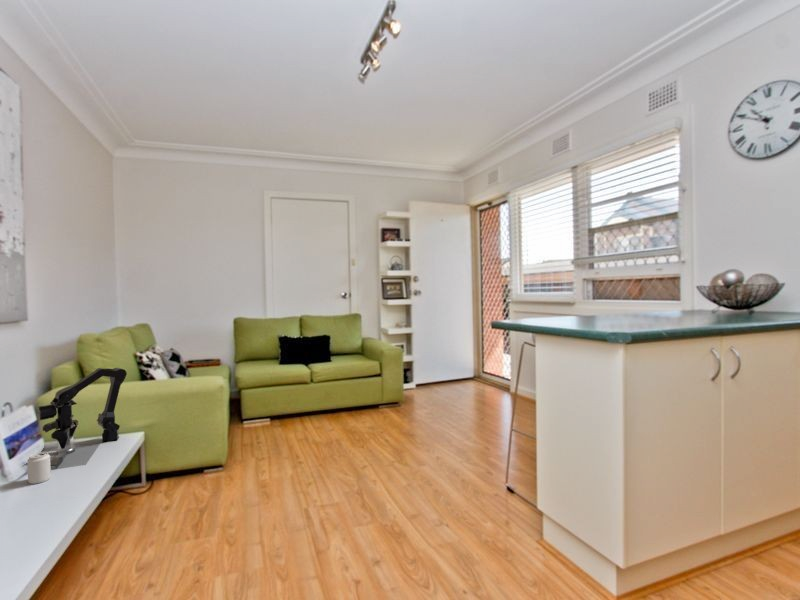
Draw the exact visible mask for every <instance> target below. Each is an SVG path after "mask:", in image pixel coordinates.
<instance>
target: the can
mask: <svg viewBox="0 0 800 600" xmlns="http://www.w3.org/2000/svg"><path fill="white" fill-rule="evenodd" d="M50 458H51V455H50V454H49V452H48V451H39V452H36V453H32V454H30V455H29V457H28V459H27V461H26V462H27V480H28V484H31V485H34V484H35V485H37V484H42V483H44V482H46V481H48V480H50V479H51V477H52V472H51V471H52V470H51V466H50Z"/></svg>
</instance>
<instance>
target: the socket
mask: <svg viewBox="0 0 800 600" xmlns="http://www.w3.org/2000/svg"><path fill="white" fill-rule="evenodd" d="M74 441H75V440H74V435H73V436H70V437H69V438H68V440H67V443H66V446H65V448H64V449H61V446H60V444H59V442H58V441H57V449H58V451H62V450H70V449H71V448H72V447H73V446H75V443H74Z"/></svg>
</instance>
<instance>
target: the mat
mask: <svg viewBox="0 0 800 600" xmlns="http://www.w3.org/2000/svg"><path fill="white" fill-rule="evenodd" d="M101 444H102V443H101V442H98V443H92V444H91V443H90V444H84V445H83V444H82V445H74V446H75V451H74V452H73V453H70V454H68V455H67V456H66V457H65V458H64V460H63V462H62V463H61V464H60V465H59V466H58V468H57V469H54V470H59V469H60V470H61V469H68V468H73V467H75V468H76V467H80V466H86V465H87V464H88V462H89V461H90V460H91V458H92V457H93V455H94V453H96V451H97V449H98V448H99V446H100V445H101ZM57 455H58V454H57V450H56V451H55V452H54V453H53V454H52V455H51V456H50V461H51V460H52V458H55V457H56V456H57Z"/></svg>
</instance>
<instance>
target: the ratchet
mask: <svg viewBox="0 0 800 600" xmlns="http://www.w3.org/2000/svg"><path fill="white" fill-rule="evenodd" d="M75 446H76V445H74V446H73V447H72V448H71V449H70V450H62V451H58V448H57V449H56V451H57V454H58V455H57V456H56V457H55V458H52V460H51V461H50V466H51V471H52V470H54V469H55V470H58V469H57V468H58V466H59V465H60V464H61V463H62V462H63V460H64V458H65V457H66V456H67V455H68V454H70V453H73V452H74V451H75Z"/></svg>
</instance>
